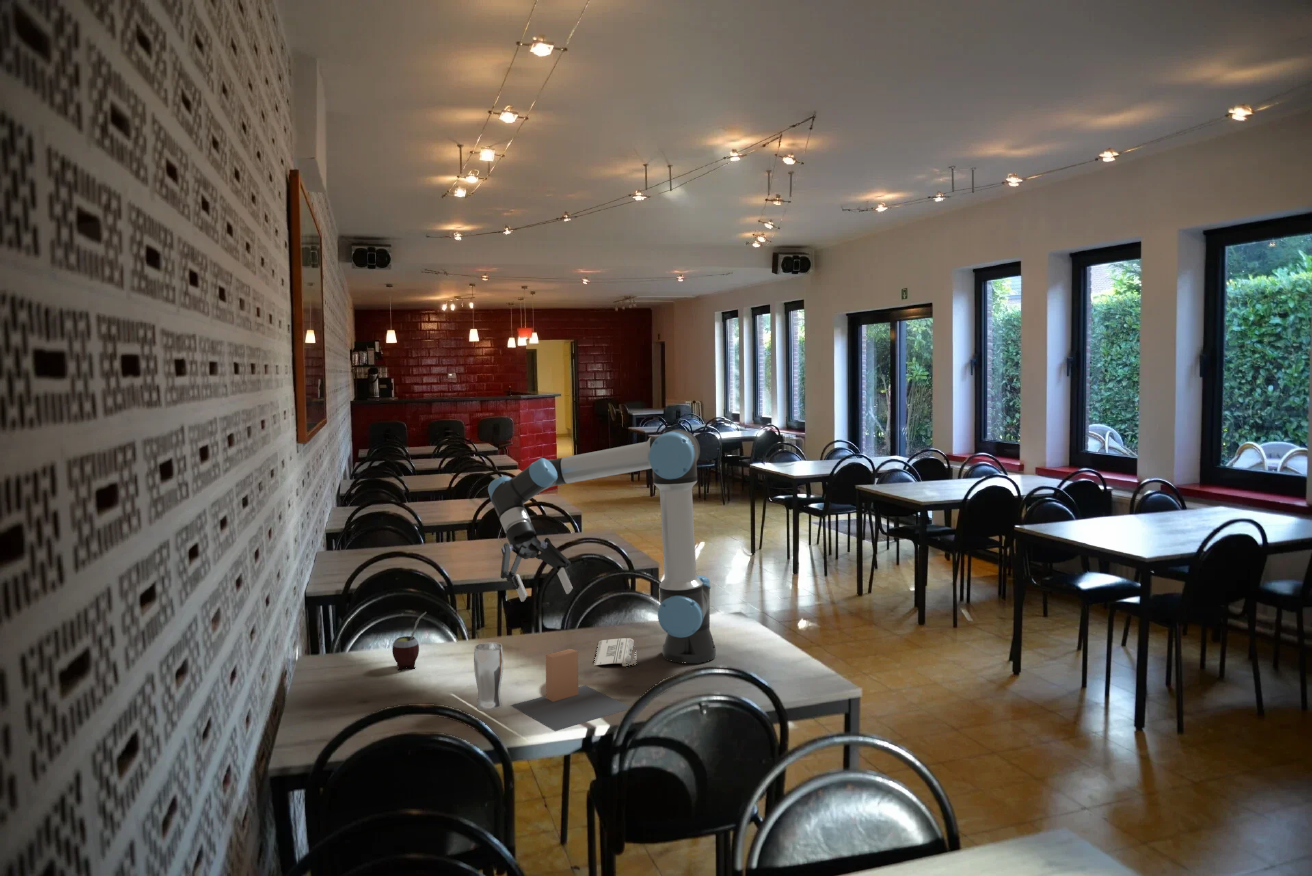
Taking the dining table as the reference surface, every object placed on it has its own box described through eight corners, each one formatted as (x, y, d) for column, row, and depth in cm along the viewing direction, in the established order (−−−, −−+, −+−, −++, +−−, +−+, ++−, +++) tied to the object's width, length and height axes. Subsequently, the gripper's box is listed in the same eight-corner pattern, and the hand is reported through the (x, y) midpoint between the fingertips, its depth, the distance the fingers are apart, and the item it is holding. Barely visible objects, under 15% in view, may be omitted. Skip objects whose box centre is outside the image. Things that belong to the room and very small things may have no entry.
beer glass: (505, 701, 223) (504, 641, 222) (501, 712, 216) (501, 650, 215) (477, 702, 222) (476, 642, 221) (472, 712, 216) (471, 650, 214)
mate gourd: (387, 669, 246) (385, 615, 245) (407, 661, 253) (406, 608, 252) (408, 673, 243) (406, 618, 242) (428, 665, 250) (427, 611, 249)
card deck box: (571, 691, 229) (571, 648, 228) (578, 694, 226) (578, 651, 225) (546, 698, 224) (545, 654, 223) (552, 701, 222) (552, 657, 221)
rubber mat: (585, 686, 233) (585, 685, 233) (633, 709, 218) (633, 707, 218) (510, 706, 219) (510, 705, 219) (555, 732, 204) (555, 731, 204)
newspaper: (637, 669, 248) (636, 660, 248) (592, 674, 248) (591, 665, 248) (640, 643, 271) (639, 635, 270) (599, 647, 271) (598, 639, 271)
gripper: (552, 531, 255) (581, 595, 244) (471, 541, 239) (499, 610, 229) (563, 515, 250) (593, 580, 240) (481, 524, 235) (510, 593, 224)
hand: (547, 595), depth 234 cm, fingers open, 13 cm apart
